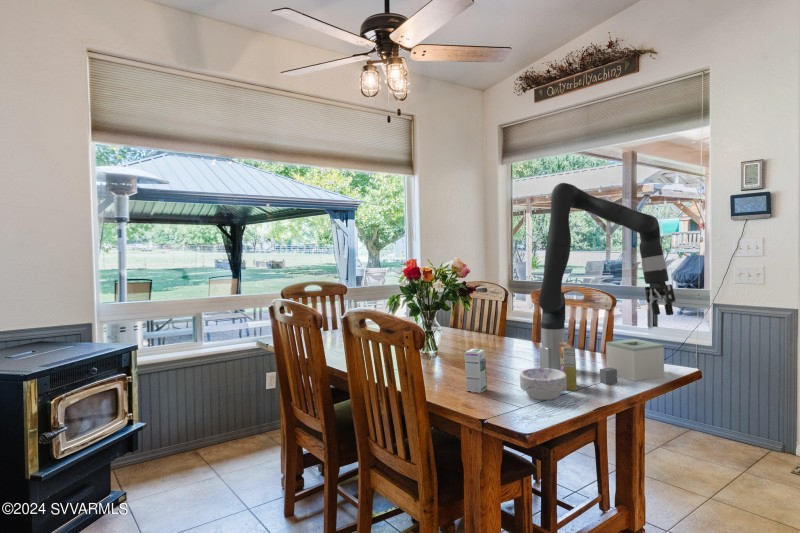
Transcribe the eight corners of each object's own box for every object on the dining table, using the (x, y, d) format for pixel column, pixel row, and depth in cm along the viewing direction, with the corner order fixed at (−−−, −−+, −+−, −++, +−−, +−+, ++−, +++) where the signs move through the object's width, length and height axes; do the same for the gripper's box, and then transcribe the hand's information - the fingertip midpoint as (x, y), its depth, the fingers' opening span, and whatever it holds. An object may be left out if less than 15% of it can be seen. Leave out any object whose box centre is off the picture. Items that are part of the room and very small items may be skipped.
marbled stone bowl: (540, 406, 154) (539, 381, 154) (511, 394, 168) (510, 371, 168) (577, 398, 160) (576, 374, 160) (546, 387, 174) (545, 365, 174)
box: (634, 381, 176) (633, 348, 176) (606, 372, 190) (606, 342, 189) (664, 376, 181) (663, 344, 180) (635, 368, 194) (634, 338, 194)
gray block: (606, 384, 174) (605, 370, 174) (600, 382, 177) (599, 369, 177) (617, 382, 176) (616, 369, 176) (611, 380, 179) (610, 367, 178)
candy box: (560, 383, 178) (558, 342, 177) (572, 383, 177) (571, 342, 177) (564, 390, 169) (563, 347, 169) (577, 390, 168) (575, 347, 168)
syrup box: (481, 393, 170) (479, 352, 169) (465, 391, 173) (464, 351, 172) (487, 389, 175) (485, 349, 174) (472, 387, 178) (470, 348, 177)
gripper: (634, 272, 179) (642, 316, 177) (654, 269, 165) (663, 316, 163) (654, 269, 179) (662, 313, 177) (676, 266, 165) (685, 313, 163)
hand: (663, 314), depth 170 cm, fingers open, 8 cm apart
